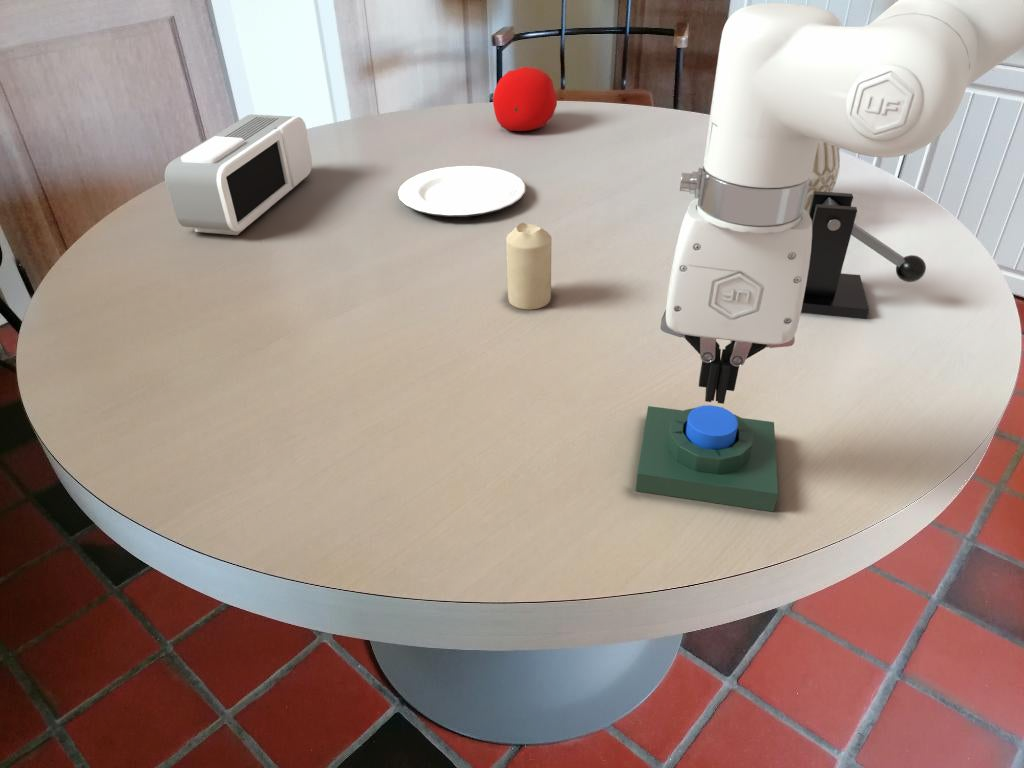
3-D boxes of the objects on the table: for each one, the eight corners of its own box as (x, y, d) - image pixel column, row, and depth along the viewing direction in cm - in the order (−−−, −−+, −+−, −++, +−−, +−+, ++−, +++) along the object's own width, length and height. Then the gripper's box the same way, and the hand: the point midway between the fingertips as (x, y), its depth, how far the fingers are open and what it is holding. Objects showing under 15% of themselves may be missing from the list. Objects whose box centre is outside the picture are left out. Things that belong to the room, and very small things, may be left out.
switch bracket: (857, 283, 98) (884, 189, 90) (866, 318, 91) (896, 219, 83) (761, 275, 100) (780, 182, 93) (763, 308, 93) (783, 211, 86)
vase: (850, 221, 113) (886, 83, 101) (771, 246, 107) (800, 101, 95) (772, 187, 125) (797, 59, 113) (697, 208, 119) (715, 74, 107)
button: (735, 423, 70) (738, 408, 69) (735, 454, 66) (738, 438, 65) (687, 417, 71) (689, 402, 70) (684, 447, 67) (686, 432, 66)
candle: (558, 295, 97) (560, 223, 91) (536, 314, 93) (536, 240, 87) (522, 285, 100) (521, 214, 94) (499, 303, 96) (497, 230, 90)
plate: (533, 177, 130) (533, 167, 129) (516, 228, 114) (515, 216, 113) (416, 173, 133) (415, 163, 132) (383, 222, 117) (381, 211, 116)
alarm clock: (237, 243, 112) (217, 165, 105) (181, 239, 113) (158, 161, 106) (315, 177, 133) (303, 108, 126) (267, 173, 135) (252, 106, 128)
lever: (908, 279, 93) (929, 260, 91) (912, 291, 90) (934, 272, 88) (811, 213, 91) (830, 192, 89) (813, 224, 89) (833, 203, 87)
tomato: (519, 154, 149) (546, 136, 159) (553, 103, 140) (579, 86, 150) (470, 112, 149) (500, 96, 159) (501, 58, 140) (530, 45, 150)
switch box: (769, 439, 73) (777, 406, 71) (773, 512, 66) (782, 478, 63) (646, 422, 76) (649, 391, 73) (635, 491, 68) (638, 458, 66)
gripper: (643, 205, 54) (624, 407, 64) (867, 224, 51) (807, 432, 61) (653, 168, 59) (634, 359, 70) (853, 182, 56) (801, 379, 67)
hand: (714, 393), depth 66 cm, fingers closed
